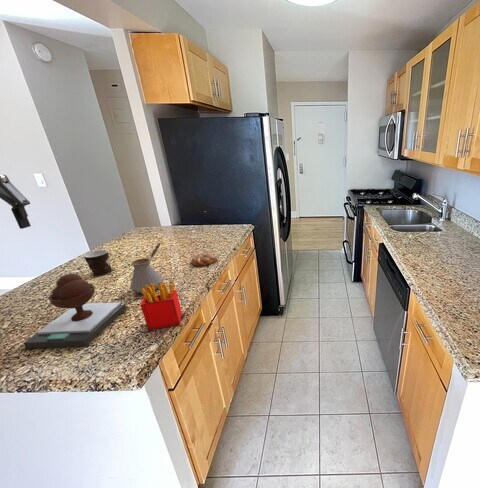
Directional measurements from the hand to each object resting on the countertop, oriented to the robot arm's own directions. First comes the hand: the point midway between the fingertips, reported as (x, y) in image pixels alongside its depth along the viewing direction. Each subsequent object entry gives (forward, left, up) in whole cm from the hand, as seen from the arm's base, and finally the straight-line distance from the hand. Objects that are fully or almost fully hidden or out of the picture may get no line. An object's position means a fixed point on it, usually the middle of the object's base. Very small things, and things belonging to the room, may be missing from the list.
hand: (3, 227), depth 83 cm
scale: (+22, -11, -32) cm, 40 cm away
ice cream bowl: (+22, -10, -29) cm, 37 cm away
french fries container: (+49, -10, -32) cm, 59 cm away
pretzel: (+45, +37, -32) cm, 66 cm away
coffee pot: (+31, +17, -32) cm, 48 cm away
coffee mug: (+1, +27, -32) cm, 42 cm away
